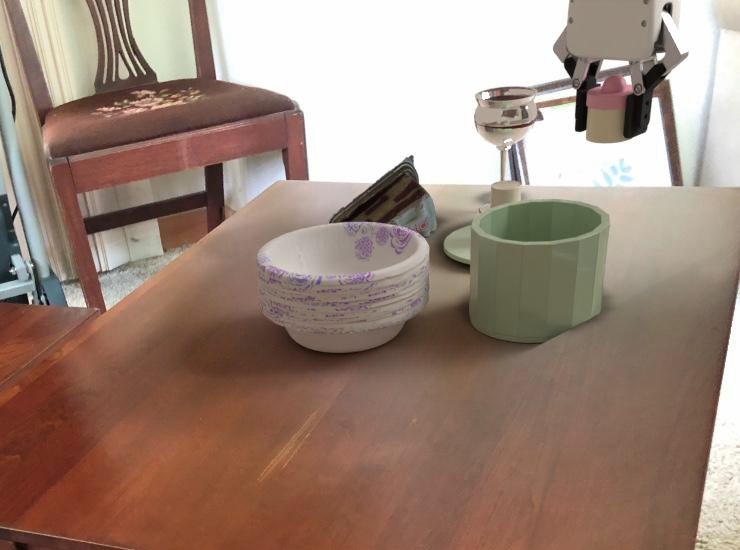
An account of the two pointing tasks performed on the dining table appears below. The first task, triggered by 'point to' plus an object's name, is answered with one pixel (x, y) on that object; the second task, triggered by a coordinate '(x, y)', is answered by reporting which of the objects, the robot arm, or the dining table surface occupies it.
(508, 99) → the wineglass
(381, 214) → the chocolate cake
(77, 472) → the dining table surface
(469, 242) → the lid
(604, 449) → the dining table surface
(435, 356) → the dining table surface
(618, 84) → the cupcake
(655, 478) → the dining table surface
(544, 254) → the pot
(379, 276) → the paper bowls
